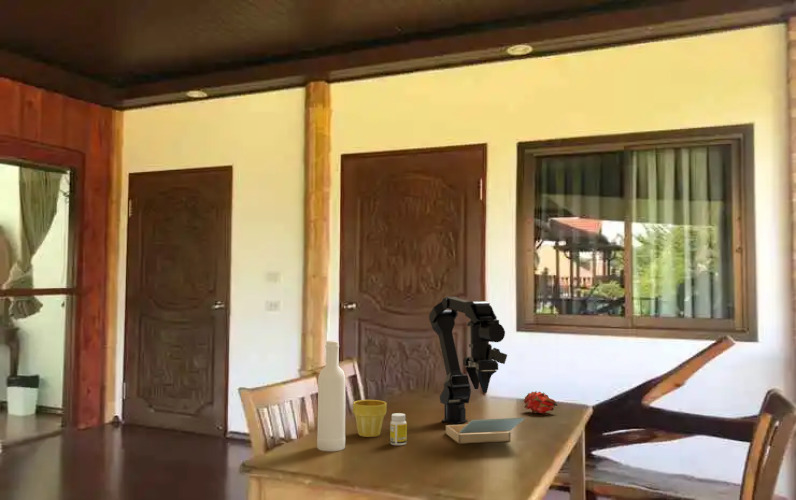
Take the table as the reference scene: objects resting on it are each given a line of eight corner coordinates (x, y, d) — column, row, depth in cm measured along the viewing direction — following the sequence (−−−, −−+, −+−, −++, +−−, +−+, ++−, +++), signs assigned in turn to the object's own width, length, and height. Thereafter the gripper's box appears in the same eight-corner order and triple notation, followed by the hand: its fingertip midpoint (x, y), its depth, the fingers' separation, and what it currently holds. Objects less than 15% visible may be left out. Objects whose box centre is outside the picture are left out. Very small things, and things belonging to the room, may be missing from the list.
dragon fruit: (521, 415, 239) (554, 423, 234) (519, 405, 232) (554, 413, 228) (526, 394, 243) (559, 402, 239) (525, 384, 237) (558, 391, 232)
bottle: (313, 446, 187) (315, 340, 188) (340, 443, 190) (341, 339, 191) (321, 452, 180) (323, 342, 181) (349, 450, 183) (350, 341, 184)
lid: (471, 419, 181) (472, 421, 181) (524, 417, 184) (524, 419, 184) (459, 431, 191) (459, 433, 191) (509, 429, 195) (509, 431, 194)
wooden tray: (445, 433, 203) (445, 425, 203) (494, 431, 207) (494, 423, 207) (458, 443, 191) (458, 435, 191) (510, 441, 194) (510, 432, 194)
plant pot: (392, 432, 204) (392, 401, 204) (377, 440, 194) (377, 406, 195) (362, 429, 208) (362, 398, 209) (346, 436, 199) (346, 403, 199)
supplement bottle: (408, 442, 192) (408, 413, 192) (403, 446, 187) (403, 416, 188) (393, 441, 193) (393, 412, 194) (387, 444, 189) (388, 415, 189)
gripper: (514, 342, 199) (515, 394, 198) (495, 338, 218) (496, 386, 216) (478, 342, 197) (479, 395, 196) (462, 339, 216) (463, 387, 215)
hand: (480, 390), depth 206 cm, fingers open, 9 cm apart
